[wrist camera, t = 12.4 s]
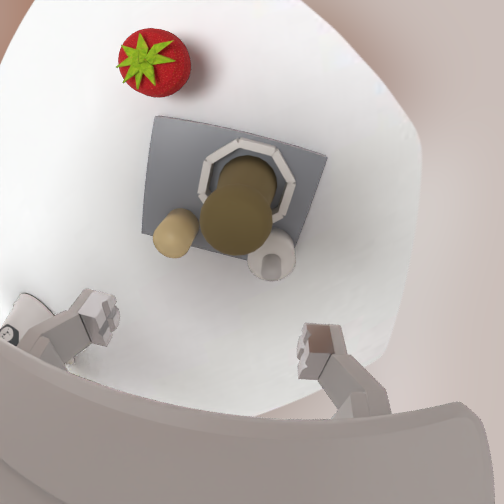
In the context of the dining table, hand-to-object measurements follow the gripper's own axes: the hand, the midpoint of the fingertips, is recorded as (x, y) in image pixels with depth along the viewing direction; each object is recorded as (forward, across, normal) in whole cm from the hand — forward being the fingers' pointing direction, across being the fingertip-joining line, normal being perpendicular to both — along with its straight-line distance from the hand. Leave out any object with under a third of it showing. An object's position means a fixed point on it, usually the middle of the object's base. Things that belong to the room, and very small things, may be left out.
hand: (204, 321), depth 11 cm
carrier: (+20, +2, +2) cm, 21 cm away
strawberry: (+21, +9, -12) cm, 25 cm away
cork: (+19, 0, 0) cm, 19 cm away
